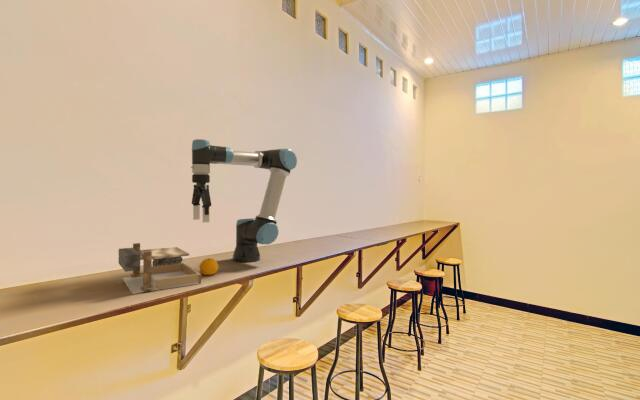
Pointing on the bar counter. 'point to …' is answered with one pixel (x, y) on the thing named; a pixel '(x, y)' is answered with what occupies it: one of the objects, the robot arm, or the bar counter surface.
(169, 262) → the rock
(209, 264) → the orange
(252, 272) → the bar counter surface
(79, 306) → the bar counter surface
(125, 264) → the trapdoor
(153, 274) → the tray
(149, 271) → the gallows posts
